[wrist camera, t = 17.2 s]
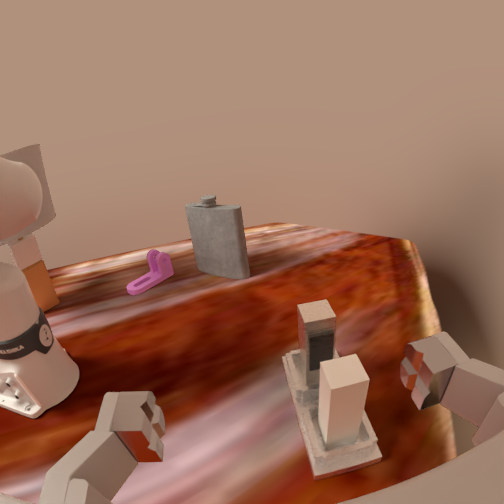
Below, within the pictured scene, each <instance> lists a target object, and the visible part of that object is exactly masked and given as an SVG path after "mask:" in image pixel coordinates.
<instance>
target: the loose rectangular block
mask: <svg viewBox="0 0 504 504" xmlns="http://www.w3.org/2000/svg"><path fill="white" fill-rule="evenodd" d="M369 381H370V379H369V377H368V375H367V373H366V371H365V370H364V368H363V366H362V364H361V362H360V360H359V358H358V356H357V355H356V354H353V355H349V356H345V357H340V358H336V359H332V360H327V361H323V362H320V386H319V412H318V427H319V430H320V433H321V436H322V439H323V443H324V446H325V449H328V448H332V447H336V446H339V445H343V444H347V443H350V442H354V441H357V437H358V433H359V428H360V424H361V420H362V415H363V411H364V406H365V401H366V396H367V391H368V386H369Z"/></svg>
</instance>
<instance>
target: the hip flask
mask: <svg viewBox="0 0 504 504" xmlns="http://www.w3.org/2000/svg"><path fill="white" fill-rule="evenodd" d="M200 200H201V202H203V203H190V204H187V205H186V206H185V208H186V213H187V219H188V224H189V228H190V233H191V239H192V244H193V248H194V253H195V258H196V263H197V267H198V270H199V271H202V272H205V273H208V274H211V275H215V276H220V277H225V278H232V279H247V278H249V277H250V269H249V262H248V255H247V248H246V241H245V233H244V227H243V219H242V212H241V206H240V205H216V201H215V200H216V196H215V195H207V196H203V197H201V198H200Z"/></svg>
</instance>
